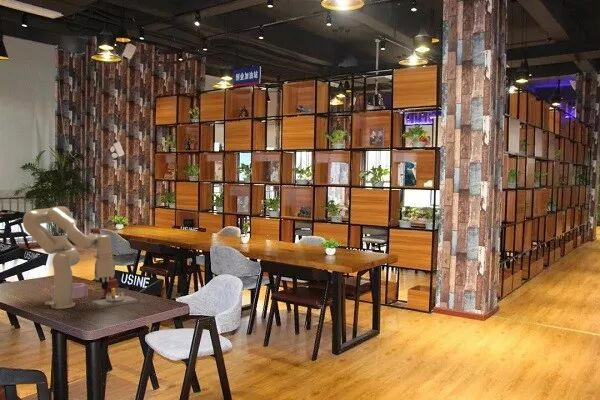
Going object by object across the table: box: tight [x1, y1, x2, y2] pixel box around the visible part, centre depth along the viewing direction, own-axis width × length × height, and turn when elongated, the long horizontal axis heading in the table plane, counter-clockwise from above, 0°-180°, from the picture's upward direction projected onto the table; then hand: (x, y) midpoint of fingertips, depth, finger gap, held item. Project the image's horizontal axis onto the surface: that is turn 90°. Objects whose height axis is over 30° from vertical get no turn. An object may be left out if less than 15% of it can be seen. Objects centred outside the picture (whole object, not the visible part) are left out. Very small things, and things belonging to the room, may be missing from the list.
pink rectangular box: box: [50, 282, 89, 300], centre depth 329 cm, size 20×12×7 cm, turn 128°
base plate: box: [91, 295, 138, 309], centre depth 315 cm, size 22×13×2 cm, turn 133°
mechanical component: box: [100, 277, 120, 298], centre depth 327 cm, size 12×10×10 cm
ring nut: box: [105, 288, 125, 302], centre depth 313 cm, size 11×14×9 cm
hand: (104, 288), depth 301 cm, fingers closed
